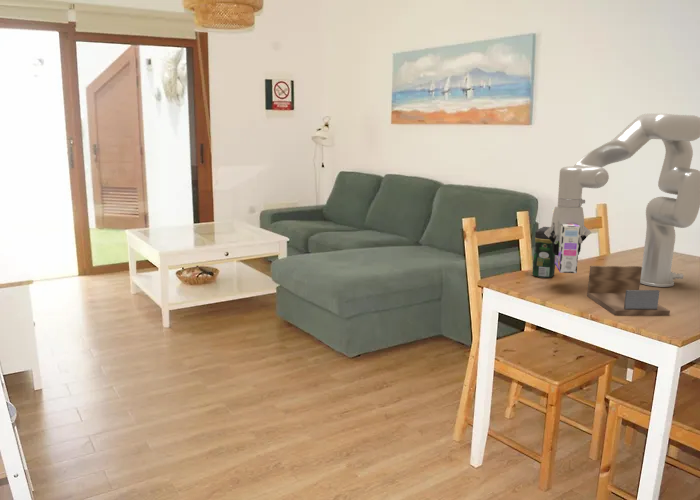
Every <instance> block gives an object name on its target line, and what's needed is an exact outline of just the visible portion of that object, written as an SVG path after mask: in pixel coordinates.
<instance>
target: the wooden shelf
mask: <svg viewBox="0 0 700 500" xmlns="http://www.w3.org/2000/svg"><path fill="white" fill-rule="evenodd" d="M641 271H642V265H641V266H640V265H590V266H589V273H588V284H587V293H586V296H587V297H588V298H589V299H591V300H592V301H593V302H594V303H597V304H598V305H600V306H601V307H602V308H603V309H605V310H607V311H608V312H609V313H611V314H612V315H614V316H670V314H671V310H669V309H668V308H666V307H664V306H663V305H661V304H660V303H658V307H657V310H625V309H624V303H625V295H626V290H640V288H641V287H640V285H641V283H640V279H641Z"/></svg>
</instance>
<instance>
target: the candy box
mask: <svg viewBox="0 0 700 500" xmlns="http://www.w3.org/2000/svg"><path fill="white" fill-rule="evenodd" d="M579 237H580V226H579V225H578V224H561V230H560V237H559V241H558V244H559V253H558V255H555V268H556V269H557V271H558V272H559V273H562V274H563V273H564V274H577V272H578V259H579V255H578V249H579Z"/></svg>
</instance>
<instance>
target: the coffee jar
mask: <svg viewBox="0 0 700 500" xmlns="http://www.w3.org/2000/svg"><path fill="white" fill-rule="evenodd" d="M550 227H551V226H542V227H540V228H537V229H536V230H535V234H534V236H535V237H534V247H533V249H534V250H533V260H532V261H533V262H532V276H533V277H538V278H541V279H546V278H548V279H550V278H552V277H553V276H554V275H555V271H556V265H555V254H553V252H552V246H553V243H552V242H551V240H550V239H549V238H548V237H547V236H546V235H545V234H544V232H545V231H546V230H547V229H549V228H550ZM550 234H551V236H552V237H554V235H555V234H552V233H550Z"/></svg>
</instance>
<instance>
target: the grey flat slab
mask: <svg viewBox="0 0 700 500" xmlns="http://www.w3.org/2000/svg"><path fill="white" fill-rule="evenodd" d="M659 297H660V290H658V289H639V290H626V295H625V303H624V309H625V310H657V307H658V304H659Z"/></svg>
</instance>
